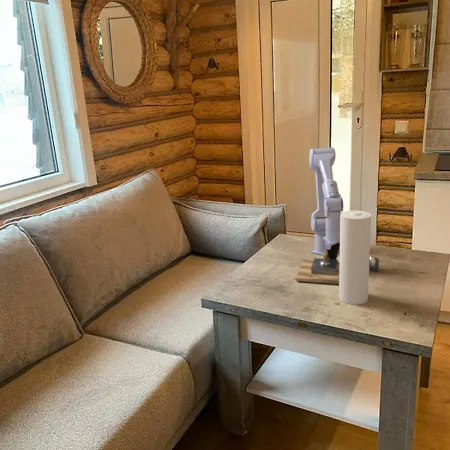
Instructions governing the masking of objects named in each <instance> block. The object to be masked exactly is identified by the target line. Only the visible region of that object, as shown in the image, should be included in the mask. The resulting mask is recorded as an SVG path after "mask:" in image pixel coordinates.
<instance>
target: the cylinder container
mask: <svg viewBox="0 0 450 450" xmlns="http://www.w3.org/2000/svg"><path fill="white" fill-rule="evenodd" d="M371 224H372V213H370V212H368V211H365V210H355V209H354V210H346V211H342V212H341V214H340V248H339V262H340V270H339V284H338V285H339V287H338V297H339V300H340V301H341V302H343V303H345V304H348V305H353V306H354V305H362V304H365V303H367V302H368V300H369V280H370V279H369V276H370V270H369V257H370V256H371V255H370V252H371V230H372V228H371V227H372V225H371Z"/></svg>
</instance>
